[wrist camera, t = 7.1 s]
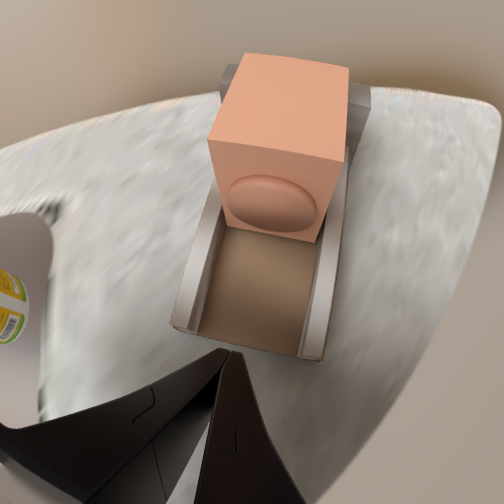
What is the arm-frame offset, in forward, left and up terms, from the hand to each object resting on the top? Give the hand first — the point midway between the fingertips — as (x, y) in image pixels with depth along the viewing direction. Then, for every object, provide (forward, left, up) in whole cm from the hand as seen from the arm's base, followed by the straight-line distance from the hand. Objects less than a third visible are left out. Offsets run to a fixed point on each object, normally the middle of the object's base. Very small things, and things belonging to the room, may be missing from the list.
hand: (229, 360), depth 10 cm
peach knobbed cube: (+10, +3, -6) cm, 11 cm away
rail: (+9, +2, -7) cm, 12 cm away
